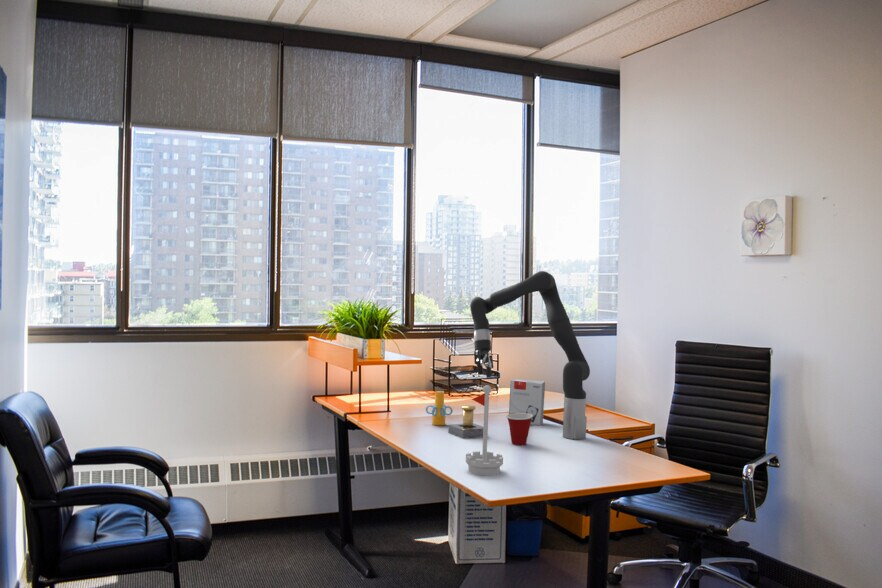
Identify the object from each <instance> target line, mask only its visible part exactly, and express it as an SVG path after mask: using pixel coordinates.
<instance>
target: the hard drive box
mask: <svg viewBox="0 0 882 588" xmlns="http://www.w3.org/2000/svg"><path fill="white" fill-rule="evenodd" d="M509 385H510V386H509V388H510V389H509V390H510V391H509V403H508V404H509V406H508V415H509V414H513V413H527V414H531V415H533V417H532V419H531V423H530V426H532V425H533V426H541V425H542V424H543V423H544V408H545V406H544V405H545V392H546V390H545V389H546V388H545V387H546V381H545V380H544V381H542V380H534V379H532V380H531V379H522V378H521V379H520V378H512V379H510V384H509Z"/></svg>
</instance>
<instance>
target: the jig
mask: <svg viewBox="0 0 882 588" xmlns="http://www.w3.org/2000/svg"><path fill="white" fill-rule="evenodd" d="M483 427H484V425H483V426H482V425H479V424H477V423H474V422H473V428H464V427H463V423H451V424H448V431H447V432H448V434H452V435H453V436H455V437H459V438H461V439H470V438H471V439H472V438H481V437H482V436H483ZM482 438H483V437H482Z"/></svg>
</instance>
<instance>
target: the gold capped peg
mask: <svg viewBox="0 0 882 588" xmlns="http://www.w3.org/2000/svg"><path fill="white" fill-rule="evenodd" d="M461 410H463V411H462V424H463V427H464V428H473V423H474V410H475V411H476V406H475V405H469V404H467V405H461Z"/></svg>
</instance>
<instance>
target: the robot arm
mask: <svg viewBox="0 0 882 588" xmlns="http://www.w3.org/2000/svg"><path fill="white" fill-rule="evenodd" d="M535 292H539V294H540V296H541V299H542V301H543V302H544V306H545V310H546V311H545V312H546V319H547V322H548V326H549V329H550V332H551V334H552V337H553V338H554V340H555V341H556V343H557V344H558V345H559V346H560V348H562V350H563V352H564V353H565V355H566V357H567V361H568V362H567V363H565V364H564V367H563V370H562V391H563V393H564V394H563V395H564V397H563V400H564V401H563V402H564V403H563V421H562V423H563V424H562V437H563V438H565V439H571V440H583V439H586V438H587V422H588V421H587V419H588V418H587V416H586V407H587V406H586V404H587V403H586V402H587V392H586V391H585V390H584V388H583V387H584V386H583V381H586V380H588V379H589V377H590V373H591V370H590V365H589V363H588V361H587V359H586V357H585V355H584V353H583V351H582V349H581V347H580V344H579V341H578V338H577V336H576V334H575V332H574V328H573V325H572V323H571V319H570V318H569V316H568V313H567V311H566V309H565V307H564V304H563V303H562V300H561V298H560V293H559V291H558V286H557V283H556V280H555V277H554V276H553V275H552V274H551V273H550V272H548V271H544V270H540V271H537V272H535V273H533V274H532V275H530V276H529V277H527V278H525V279H523V280H521V281H519V282H517V283H515V284H513V285H511V286H507V287H504V288H502V289H499V290H497V291H494V292H493V293H491V294H490V296H489V297H488V298H485V299H484V298H482V297H480V296H476V297H473V298H472V299H471V301H470V305H469V307H470V308H469V309H470V314H471V317H472V320H473V342H474V343H473V344H474V351H473V355H474V357H473V358H474V361H473V362H474V364H475V365H476V367H477V374H478V375H480V376H481V375H483V374H484V367H485V369H486V370H485V375H486V378H492V369H494V359H493V355H492V354H491V355H490V352H491V351H492V341H491V340H492V339H491V331H490V322H489V319H488V317H487V315H488V314H489V313H492V311H494V310H496V309H497V308H500V307H503V306H506V305H508V304H510V303H512V302H514V301H516V300H518V299H520V298H521V297H523V296H525V295H526V296H527V295H528V294H531V293H535Z"/></svg>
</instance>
